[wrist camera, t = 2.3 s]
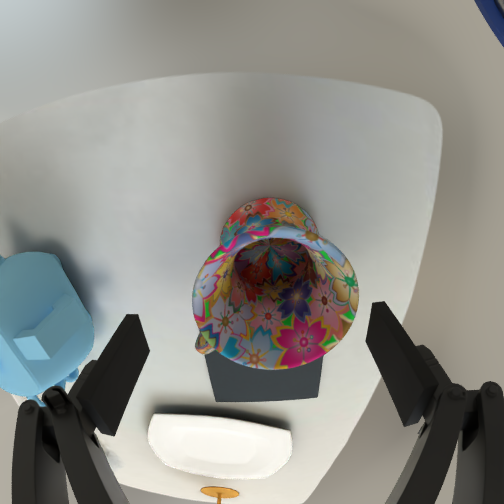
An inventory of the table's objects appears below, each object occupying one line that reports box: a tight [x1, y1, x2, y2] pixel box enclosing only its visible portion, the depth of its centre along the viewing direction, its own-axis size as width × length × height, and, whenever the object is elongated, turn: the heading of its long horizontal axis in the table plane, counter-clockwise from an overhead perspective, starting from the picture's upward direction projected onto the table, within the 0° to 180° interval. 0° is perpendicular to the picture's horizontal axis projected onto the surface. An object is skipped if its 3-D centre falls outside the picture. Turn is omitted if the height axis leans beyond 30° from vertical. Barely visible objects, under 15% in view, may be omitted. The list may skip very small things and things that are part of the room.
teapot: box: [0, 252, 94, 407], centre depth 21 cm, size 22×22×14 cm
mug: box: [192, 198, 359, 370], centre depth 20 cm, size 12×9×11 cm
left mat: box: [199, 330, 323, 402], centre depth 30 cm, size 13×12×1 cm
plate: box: [147, 413, 293, 479], centre depth 37 cm, size 23×23×2 cm
